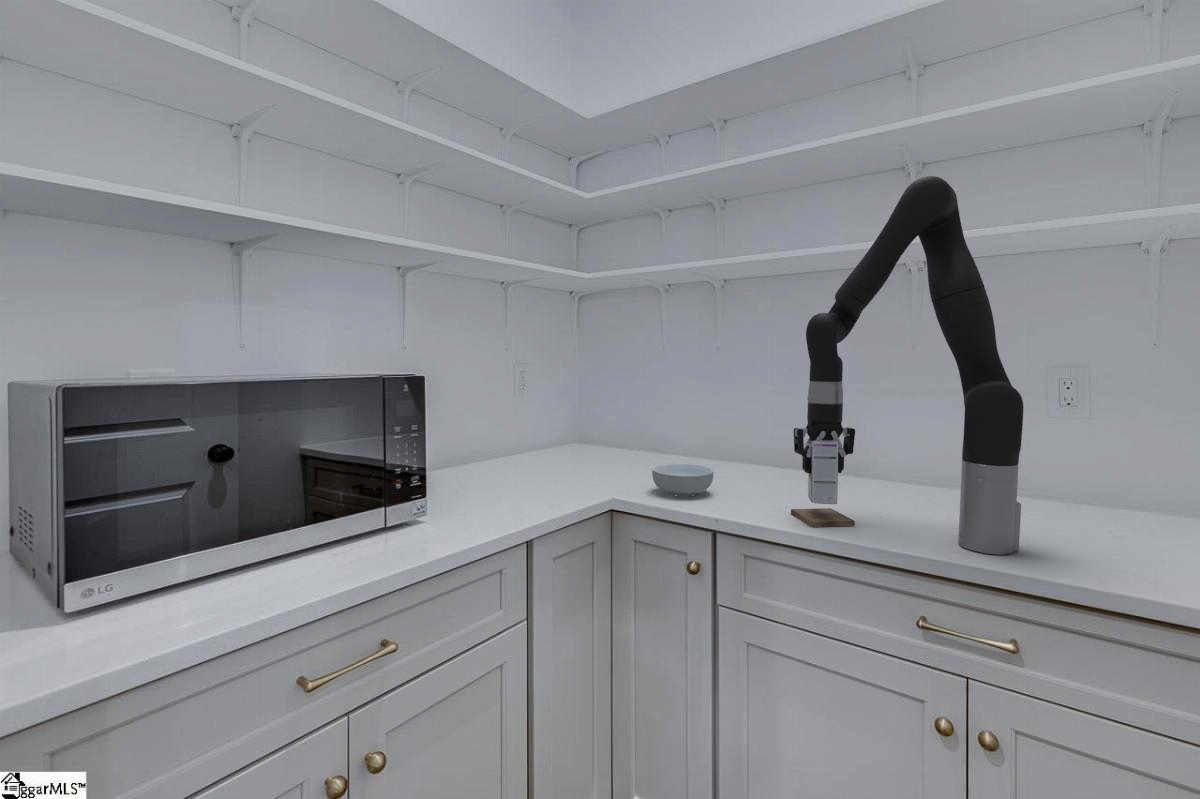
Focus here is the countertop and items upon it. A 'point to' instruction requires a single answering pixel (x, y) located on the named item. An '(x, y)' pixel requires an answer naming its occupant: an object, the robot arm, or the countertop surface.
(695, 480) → the cereal bowl
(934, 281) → the robot arm
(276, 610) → the countertop surface
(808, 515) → the walnut board
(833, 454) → the syrup box
